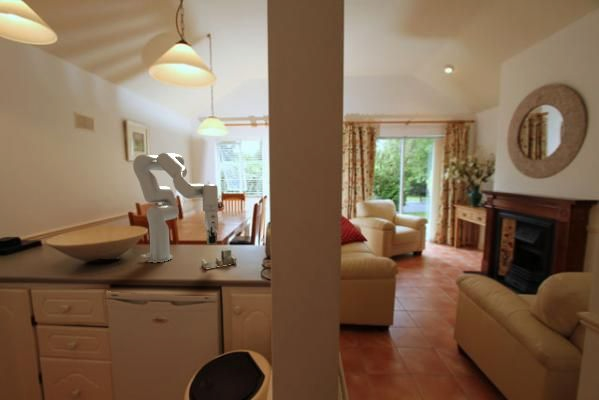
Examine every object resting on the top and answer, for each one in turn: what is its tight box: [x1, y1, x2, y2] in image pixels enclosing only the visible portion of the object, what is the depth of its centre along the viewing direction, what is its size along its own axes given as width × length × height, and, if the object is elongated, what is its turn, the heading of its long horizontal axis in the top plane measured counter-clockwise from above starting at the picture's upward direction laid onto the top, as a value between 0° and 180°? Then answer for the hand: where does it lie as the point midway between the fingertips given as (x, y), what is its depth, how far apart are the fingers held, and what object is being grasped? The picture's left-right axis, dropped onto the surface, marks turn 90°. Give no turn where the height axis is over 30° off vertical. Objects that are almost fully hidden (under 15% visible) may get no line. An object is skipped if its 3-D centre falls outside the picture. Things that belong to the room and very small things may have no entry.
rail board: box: [201, 247, 238, 269], centre depth 132 cm, size 16×8×8 cm, turn 122°
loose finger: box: [206, 230, 218, 246], centre depth 129 cm, size 4×4×7 cm
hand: (211, 241), depth 129 cm, fingers closed on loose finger, 4 cm apart
